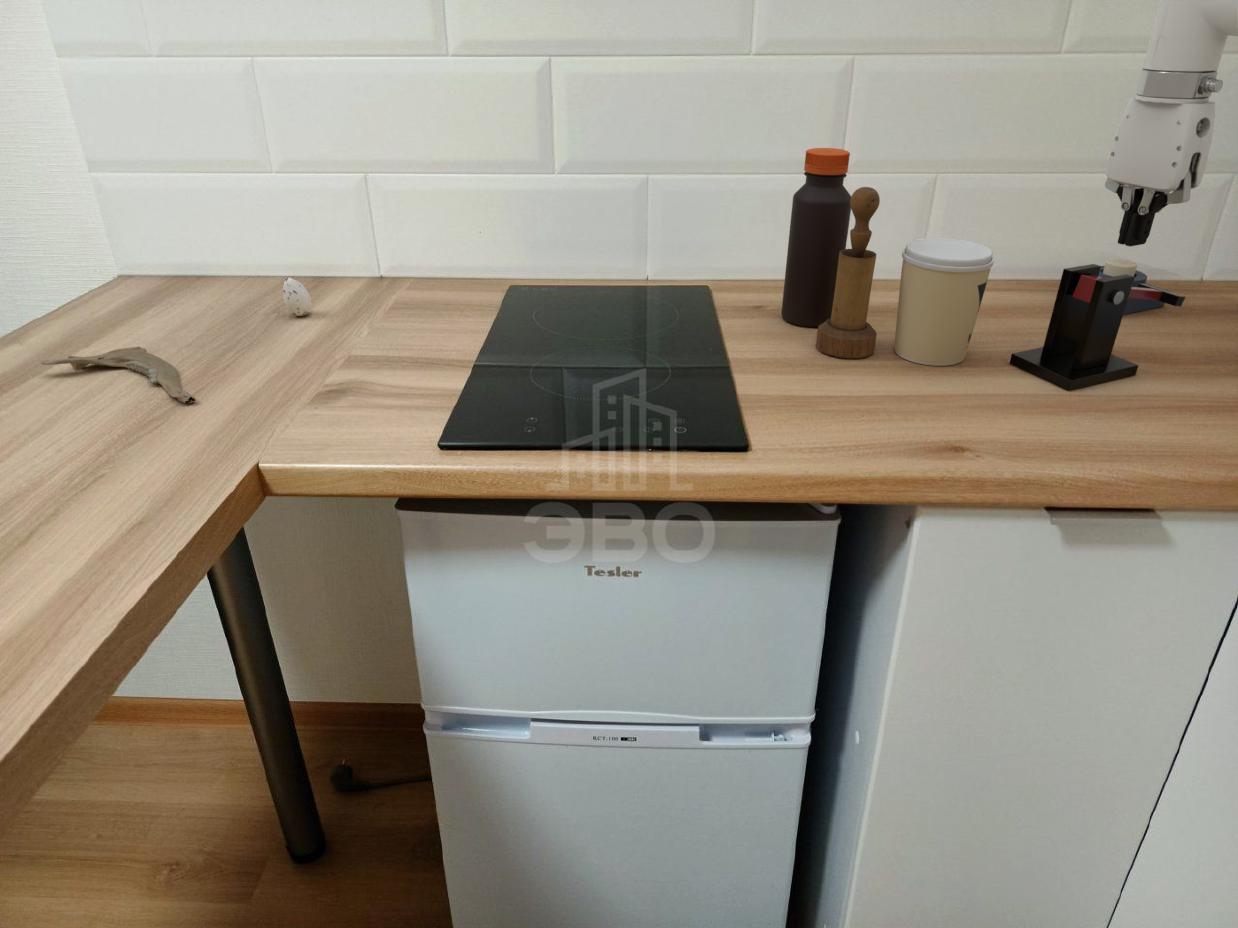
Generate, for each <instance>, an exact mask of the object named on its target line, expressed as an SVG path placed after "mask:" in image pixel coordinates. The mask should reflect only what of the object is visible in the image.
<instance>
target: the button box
mask: <svg viewBox="0 0 1238 928" xmlns="http://www.w3.org/2000/svg"><path fill="white" fill-rule="evenodd" d="M1100 266H1101V269H1100V272H1099V277H1102V278H1109V277H1112V276H1108V275H1105V274H1103V270H1104V266H1105V265H1100ZM1147 279H1148V275H1147V274H1146V273H1144V272H1143V271H1139V270H1138V269H1136V271H1135V274H1134V281H1133V284H1132V287H1137V285H1138V284H1139V283H1140V284H1146V285H1149V286H1153V287H1156V288H1159V289H1162V290H1165V291H1168V292H1169V290H1168V289H1165V288H1161V287H1158V286H1156V285H1152V284H1149V283H1147ZM1164 306H1165V303H1164V302H1161V301H1158V300H1147V299H1134V298H1128V301H1127V304H1126V307H1125V310H1124V314H1123V316H1124V315H1129V314H1134V313H1138V312H1143V311H1148V310H1154V309H1159V308H1163V307H1164Z"/></svg>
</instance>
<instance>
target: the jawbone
mask: <svg viewBox="0 0 1238 928" xmlns="http://www.w3.org/2000/svg"><path fill="white" fill-rule="evenodd" d="M40 364H41V365H42V366H53V365H54V366H55V365H63V364H64V365H65V364H67V365H68V364H70V365H71V367H72V369H73V370H74V371H80V370H83V369H84V368H85V367H87V366H89V365H98V366H105V367H106V366H108V367H111V368H112V367H113V368H115V367H116V368H126V369H128V370H131V371H135V372H137V373H139V374H144V376H147V378H148V380H149V383H151V384H160V385H161V387H162V388H163V389H164V390H165V391H166V392H167V394H168V395H169V396H171V397H172V398H176V399H177V400H178V401H179V402H180V403H183V404H193V402H197V399H196V398H195V397H194V396H193V395H192V394H190V392H188V391H186V390H184V389H182V387H181V384H180V376H179V372H178V370H177V368H176V366H174V365H172V364H171V363H170V362H168V361H166V360H164V359H162V358H161V357H159V356H157V355H154V354H153V353H150V352H148V350H147V349H146V348H144V347H140V346H132V347H124V348H117V349H113V350H109V351H108V352H104V353H102V354H96V355H90V356H77V355H68V356H67V357H66V358H60V359H59V358H58V359H52V360H42V361H41V363H40Z"/></svg>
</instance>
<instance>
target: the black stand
mask: <svg viewBox="0 0 1238 928" xmlns="http://www.w3.org/2000/svg"><path fill="white" fill-rule="evenodd" d="M1101 266H1102V265H1099V264H1095V263H1092V264H1084V265H1078V266H1071V267H1065V268H1063V269H1062V273H1061V278H1060V282H1059V284H1058V289H1057V293H1056V296H1055V299H1054V303H1053V309H1052V312H1051V316H1050V320H1049V323H1048V327H1047V331H1046V334H1045V339H1044V343H1043V346H1042V347H1037V348H1033V349H1028V350H1022V351H1017V352H1012V353H1011V355H1010V359H1009V365H1012V366H1014V367H1015V368H1019V369H1020V370H1023V371H1025V372H1027V373H1029V374H1031V375H1033V376H1035V377H1038V378H1039V379H1041V380H1044V381H1047V382H1048V383H1050V384H1052V385H1055V386H1057V387H1059V388H1061V389H1064V390H1065V391H1068V392H1069V391H1074V390H1079V389H1083V388H1086V387H1091V386H1095V385H1100V384H1103V383H1109V382H1112V381H1116V380H1121V379H1126V378H1131V377H1135V376H1136V375H1137V372H1138V369H1139V364H1137V363H1136V362H1132V361H1130V360H1127V359H1124V358H1122V357H1120V356H1117V355H1115V354H1112V353H1113V349H1114V347H1115V343H1116V340H1117V337H1118V334H1119V330H1120V327H1121V323H1122V320H1123V317H1124V315H1125V314H1124V310H1125V307H1126V304H1127V301H1128V297H1129V294H1130V291H1131V287H1132V284H1133V281H1134V276H1130V275H1127V274H1126V275H1120V276H1114V277H1109V278H1103V279H1097V280H1096V283H1095V286H1094V290H1093V293H1092V297H1091V300H1090V303H1088V302H1085V301H1082V300H1079V299H1077V298H1074V297H1072V296H1073V294H1074V291H1075V289H1076V286H1077V284H1078V281H1079V279H1080V276H1081V275H1091V276H1099V272H1100V269H1101ZM1123 314H1124V315H1123Z"/></svg>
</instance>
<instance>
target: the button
mask: <svg viewBox="0 0 1238 928" xmlns="http://www.w3.org/2000/svg"><path fill="white" fill-rule="evenodd" d="M1103 266H1104V270H1103V274H1105V275H1108V276H1112V277H1114V276H1120V275H1126V274H1127V275H1130V276H1134V274H1135V271H1136V270H1137V267H1138V264H1137V263H1136V262H1134V261H1132V260H1128V259H1121V258H1110V259H1109V258H1108V259H1106V260H1105V263H1104V265H1103Z"/></svg>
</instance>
